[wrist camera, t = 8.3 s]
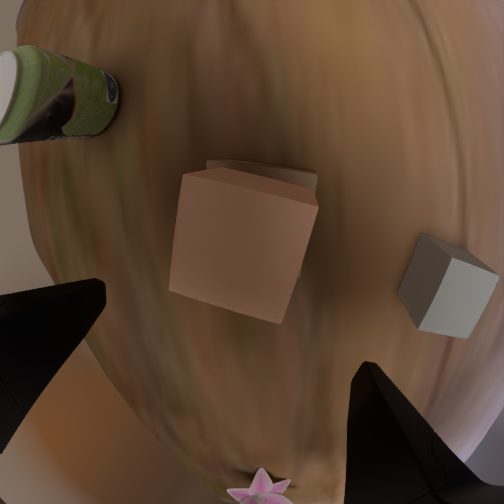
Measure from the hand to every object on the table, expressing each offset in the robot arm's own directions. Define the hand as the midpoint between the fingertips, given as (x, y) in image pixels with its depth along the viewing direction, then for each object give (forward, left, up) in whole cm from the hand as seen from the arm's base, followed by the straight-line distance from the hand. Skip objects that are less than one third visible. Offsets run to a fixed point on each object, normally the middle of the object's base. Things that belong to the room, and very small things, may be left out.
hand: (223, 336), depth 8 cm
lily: (-10, +41, -12) cm, 44 cm away
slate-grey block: (-13, -1, -12) cm, 18 cm away
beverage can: (+16, -8, -12) cm, 21 cm away
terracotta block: (+1, -2, -8) cm, 8 cm away
